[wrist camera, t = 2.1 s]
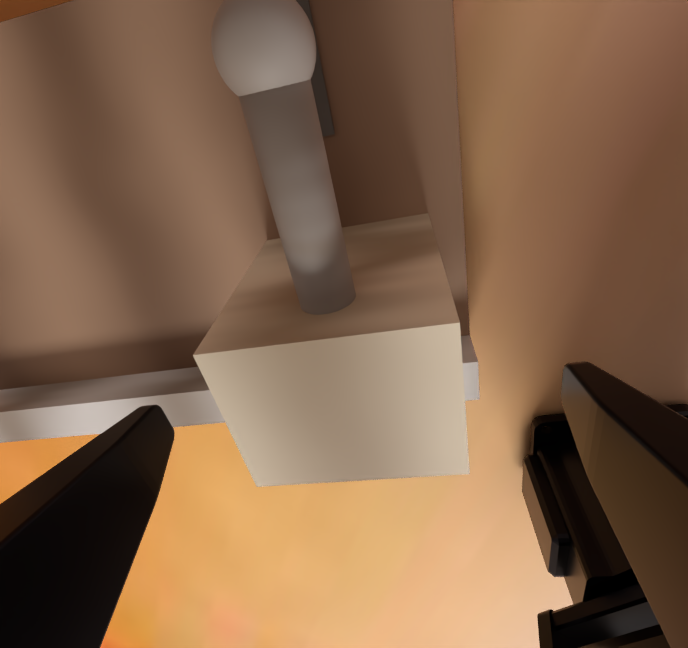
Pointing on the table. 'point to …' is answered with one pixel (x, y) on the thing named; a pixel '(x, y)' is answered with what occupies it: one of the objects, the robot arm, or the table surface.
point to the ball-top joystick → (327, 297)
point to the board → (187, 191)
